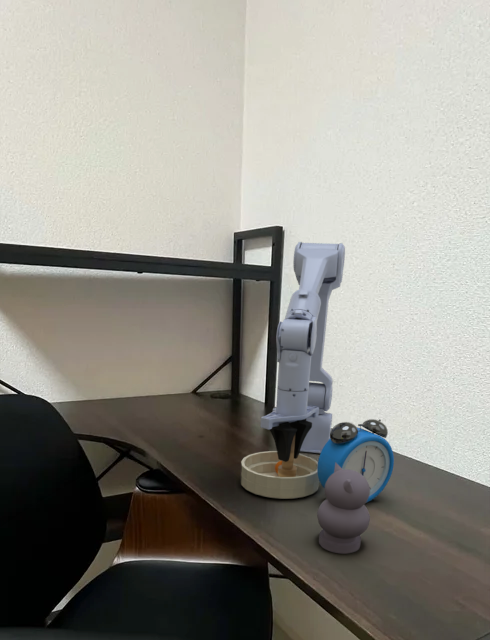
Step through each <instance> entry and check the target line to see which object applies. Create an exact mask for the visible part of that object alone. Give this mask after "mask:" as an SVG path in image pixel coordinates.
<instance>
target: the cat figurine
mask: <svg viewBox="0 0 490 640" xmlns="http://www.w3.org/2000/svg"><path fill="white" fill-rule="evenodd" d="M369 494H370V487H369V484H368V482H367V480H366V478H365V477H364V476H363V475H361V474H360V473H358V472H356V471H354V470H348V469H344V470H343V469H342V468H341V467H340V466H339V465H338V464H337V463H336V462H335V469H334V473H333V474H332V475H331V476H330V477H329V478H328V480H327V481H326V484H325V489H324V495H325V498H326V499H325V500H323V501H322V502H321V503H320V505H319V507H318V509H317V512H316V518H317V522H318V524H319V527H321V530H320V531H319V534H318V544H319V545H320V547H321V548H322V549H324V550H326V551H329V552H330V553H334V554H335V553H336V554H351V553H354V552H355V553H356V552H357V551H358V550H360V547H361V542H362V536H361V535H362V534H363V533H364V532H366V531H367V529H368V527H369V526H370V521H371V515H370V512H369V510H368V508H367V507H366V502H367V500H368V498H369ZM367 503H368V502H367Z"/></svg>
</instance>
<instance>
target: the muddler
mask: <svg viewBox="0 0 490 640" xmlns="http://www.w3.org/2000/svg"><path fill="white" fill-rule="evenodd" d="M295 435H296V433H295ZM295 435H294V438H293V441H292V445H291V452H290V458H289V461H287V462H285V461H282V465H280V466H279V467H278V476H279V477H296V470H297V468H296V467H295V466H293V462H294V448H295Z"/></svg>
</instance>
